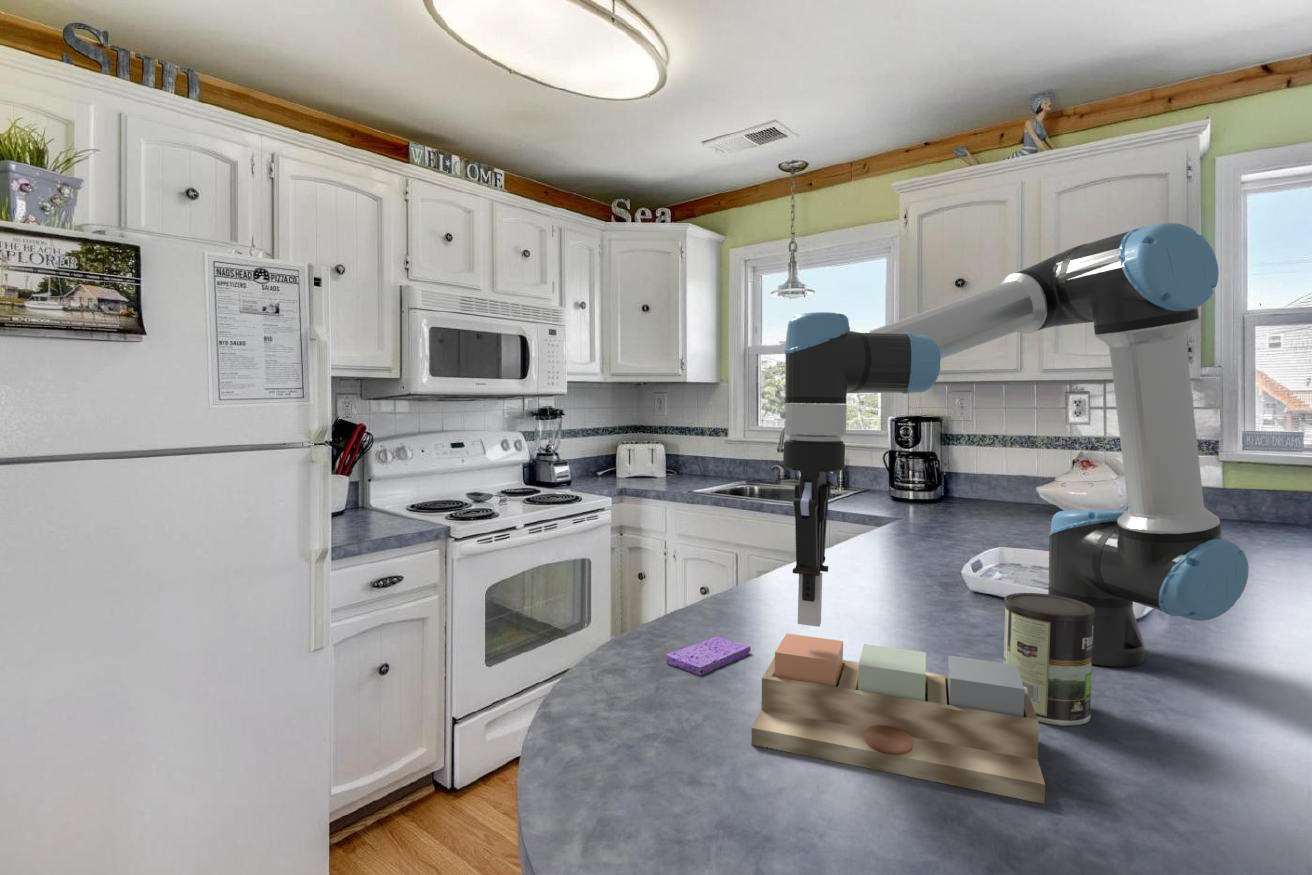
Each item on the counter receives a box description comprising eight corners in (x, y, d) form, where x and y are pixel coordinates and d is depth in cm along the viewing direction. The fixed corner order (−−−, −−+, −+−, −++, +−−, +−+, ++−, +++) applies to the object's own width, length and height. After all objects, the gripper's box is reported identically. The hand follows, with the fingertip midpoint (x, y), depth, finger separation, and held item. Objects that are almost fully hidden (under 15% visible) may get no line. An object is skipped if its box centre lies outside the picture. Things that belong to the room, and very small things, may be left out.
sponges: (665, 666, 103) (665, 654, 103) (716, 645, 112) (717, 634, 112) (700, 679, 98) (700, 666, 98) (751, 656, 107) (751, 645, 107)
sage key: (924, 691, 84) (925, 652, 83) (924, 717, 77) (925, 674, 77) (863, 681, 86) (864, 643, 86) (857, 705, 80) (858, 664, 79)
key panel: (1024, 735, 81) (1026, 686, 81) (1044, 803, 67) (1046, 745, 67) (777, 693, 92) (778, 650, 92) (751, 744, 78) (752, 694, 78)
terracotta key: (842, 678, 87) (843, 641, 87) (835, 701, 81) (836, 661, 80) (785, 669, 90) (786, 633, 90) (774, 691, 83) (775, 652, 83)
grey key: (1014, 705, 80) (1016, 664, 80) (1022, 733, 73) (1024, 689, 73) (947, 695, 83) (948, 655, 82) (949, 721, 76) (950, 678, 76)
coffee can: (1089, 702, 90) (1094, 599, 89) (1091, 734, 81) (1096, 620, 81) (1004, 685, 95) (1007, 587, 95) (997, 713, 87) (1000, 606, 86)
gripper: (793, 435, 91) (789, 605, 92) (773, 439, 79) (768, 635, 80) (850, 437, 88) (845, 612, 90) (838, 441, 76) (832, 644, 78)
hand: (809, 623), depth 85 cm, fingers closed
